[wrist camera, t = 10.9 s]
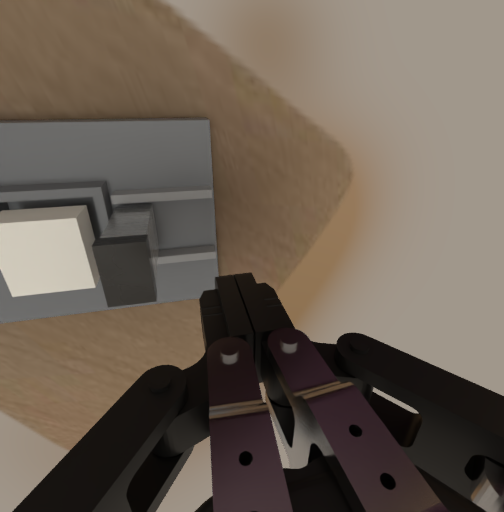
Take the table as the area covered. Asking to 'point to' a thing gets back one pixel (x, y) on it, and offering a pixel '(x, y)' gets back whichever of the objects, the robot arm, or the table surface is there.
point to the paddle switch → (128, 256)
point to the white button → (47, 250)
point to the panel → (115, 196)
